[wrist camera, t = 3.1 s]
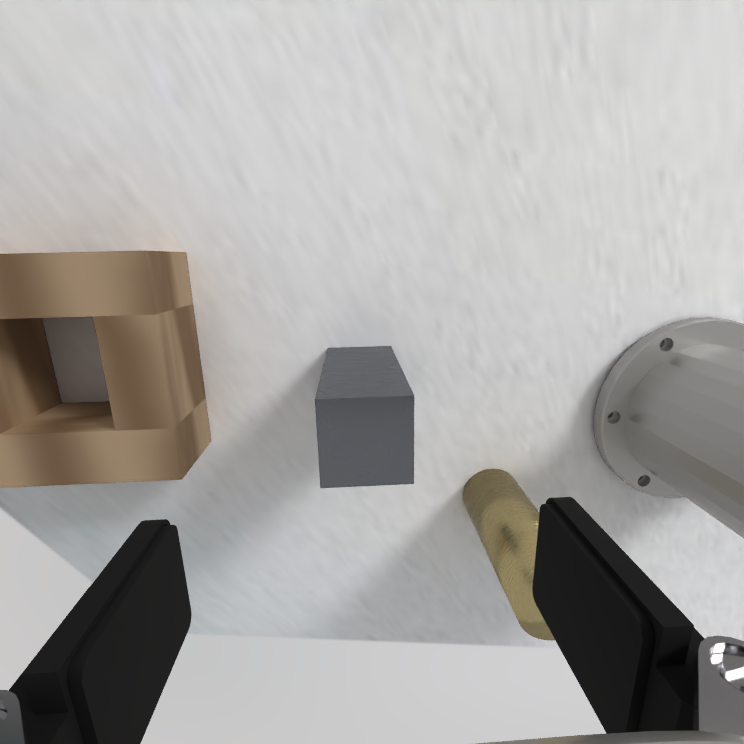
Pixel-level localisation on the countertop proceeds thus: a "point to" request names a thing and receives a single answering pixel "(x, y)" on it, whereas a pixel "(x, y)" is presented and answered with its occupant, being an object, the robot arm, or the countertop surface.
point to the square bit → (364, 419)
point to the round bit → (508, 540)
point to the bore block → (120, 365)
